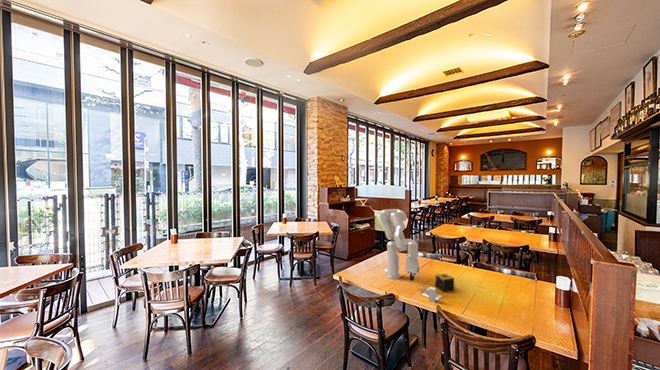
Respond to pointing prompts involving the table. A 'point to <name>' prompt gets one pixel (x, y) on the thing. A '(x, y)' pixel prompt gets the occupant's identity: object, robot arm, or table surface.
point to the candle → (444, 282)
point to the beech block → (425, 290)
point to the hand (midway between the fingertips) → (411, 279)
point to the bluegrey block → (432, 294)
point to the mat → (436, 296)
